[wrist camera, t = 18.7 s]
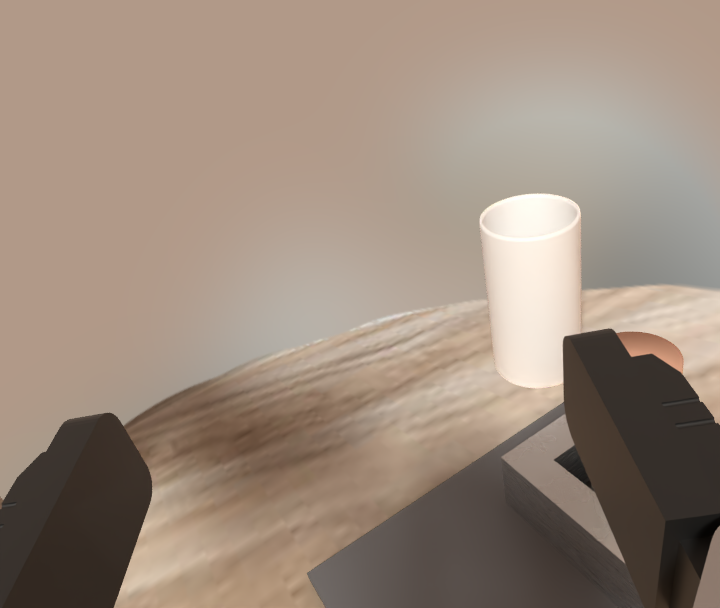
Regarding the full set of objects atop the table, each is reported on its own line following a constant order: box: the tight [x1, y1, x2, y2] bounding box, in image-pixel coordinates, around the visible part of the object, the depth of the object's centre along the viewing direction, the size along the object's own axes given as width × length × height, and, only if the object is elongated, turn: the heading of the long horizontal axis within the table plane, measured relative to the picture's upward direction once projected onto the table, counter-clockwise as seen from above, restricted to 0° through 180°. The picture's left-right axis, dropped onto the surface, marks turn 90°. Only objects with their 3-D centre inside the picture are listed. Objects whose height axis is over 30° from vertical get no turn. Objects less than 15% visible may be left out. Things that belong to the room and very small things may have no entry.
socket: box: [501, 414, 644, 608], centre depth 40 cm, size 12×12×5 cm
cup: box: [480, 194, 581, 388], centre depth 53 cm, size 8×8×16 cm
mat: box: [307, 402, 619, 608], centre depth 41 cm, size 17×28×1 cm, turn 121°
